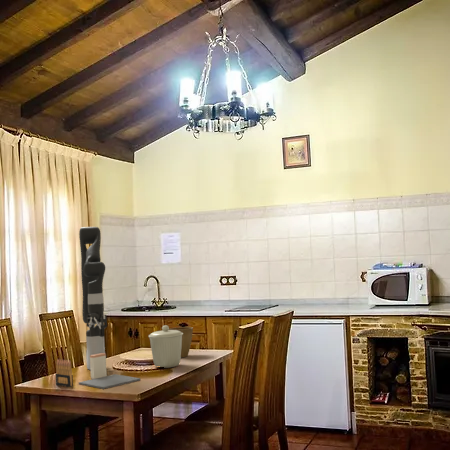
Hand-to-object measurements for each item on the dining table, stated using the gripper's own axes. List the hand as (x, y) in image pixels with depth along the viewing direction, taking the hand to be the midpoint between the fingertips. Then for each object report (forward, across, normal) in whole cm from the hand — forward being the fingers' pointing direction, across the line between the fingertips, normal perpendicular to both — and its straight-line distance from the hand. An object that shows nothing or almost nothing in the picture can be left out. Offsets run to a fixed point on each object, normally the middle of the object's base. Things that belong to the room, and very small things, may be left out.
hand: (97, 336), depth 268 cm
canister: (+20, +10, +35) cm, 41 cm away
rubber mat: (+20, +15, -4) cm, 25 cm away
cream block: (+20, 0, 0) cm, 20 cm away
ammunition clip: (+20, +1, -19) cm, 28 cm away
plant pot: (+20, -6, +59) cm, 63 cm away
